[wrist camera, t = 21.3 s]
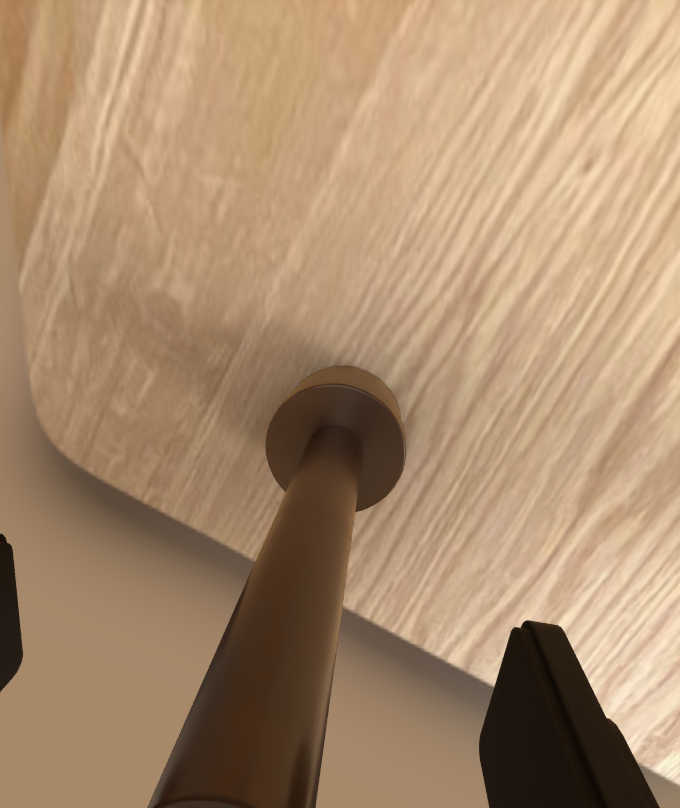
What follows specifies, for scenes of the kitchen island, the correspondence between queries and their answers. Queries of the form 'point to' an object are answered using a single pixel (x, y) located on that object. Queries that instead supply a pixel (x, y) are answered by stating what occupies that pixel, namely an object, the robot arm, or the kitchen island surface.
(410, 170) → the kitchen island surface
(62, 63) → the kitchen island surface
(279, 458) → the brown rod piece
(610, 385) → the kitchen island surface
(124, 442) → the kitchen island surface
